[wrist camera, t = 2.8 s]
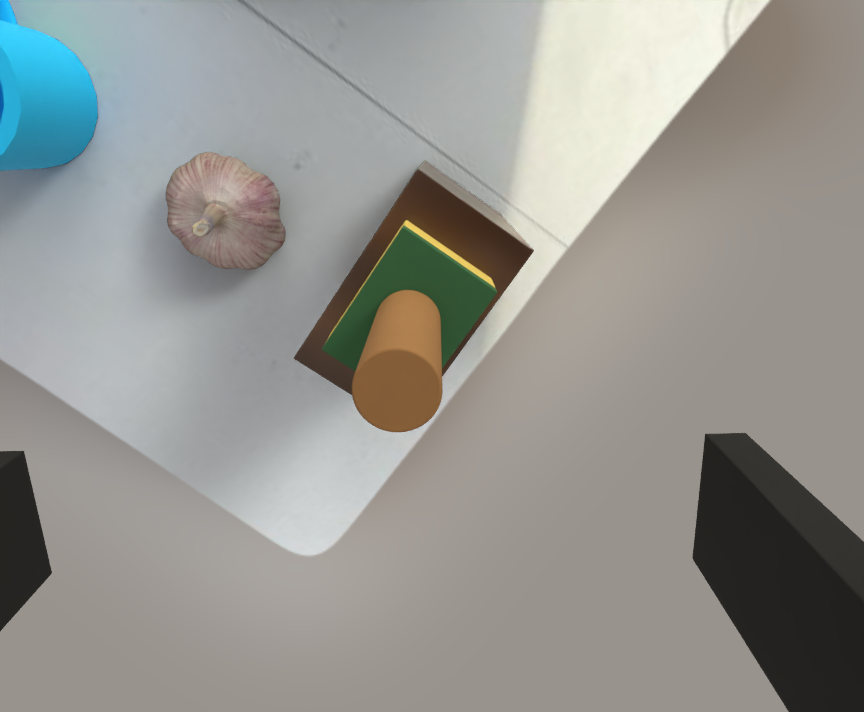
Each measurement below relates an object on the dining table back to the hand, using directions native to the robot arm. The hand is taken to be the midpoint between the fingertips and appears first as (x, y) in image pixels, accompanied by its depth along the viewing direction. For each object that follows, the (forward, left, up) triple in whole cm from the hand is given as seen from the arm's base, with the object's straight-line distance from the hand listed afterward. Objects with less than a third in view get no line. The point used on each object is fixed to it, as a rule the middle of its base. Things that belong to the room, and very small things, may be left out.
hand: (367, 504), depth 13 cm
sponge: (0, 0, -17) cm, 17 cm away
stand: (0, 0, -33) cm, 33 cm away
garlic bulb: (+12, -3, -33) cm, 35 cm away
